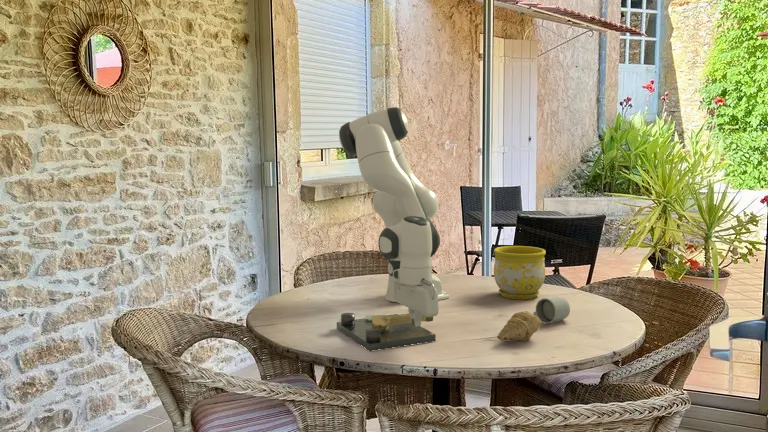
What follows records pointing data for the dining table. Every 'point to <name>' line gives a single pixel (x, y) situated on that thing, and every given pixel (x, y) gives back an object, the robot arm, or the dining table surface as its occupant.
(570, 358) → the dining table surface
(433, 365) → the dining table surface
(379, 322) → the lever
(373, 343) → the base
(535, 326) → the seashell
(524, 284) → the flowerpot
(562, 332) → the dining table surface
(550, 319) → the ceramic mug
